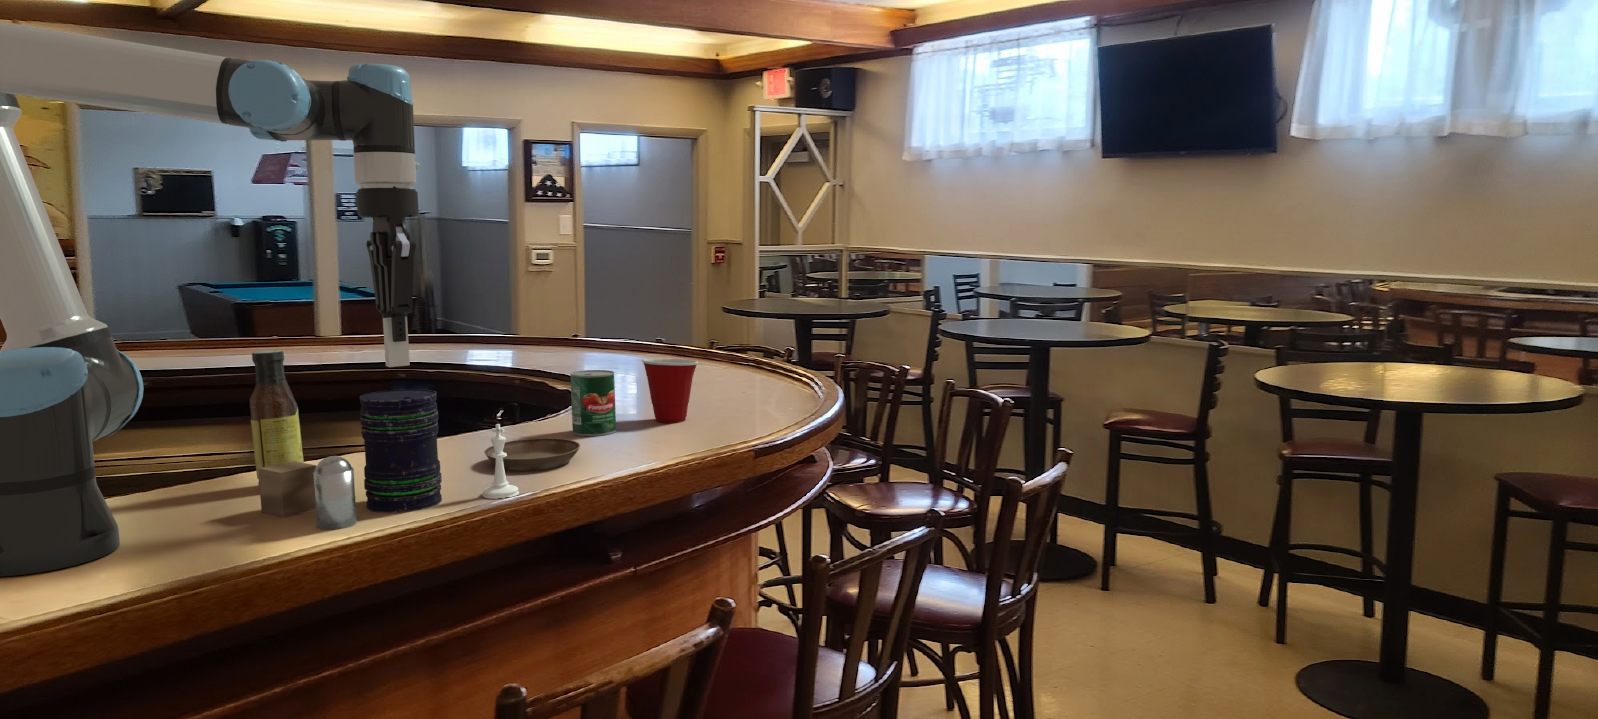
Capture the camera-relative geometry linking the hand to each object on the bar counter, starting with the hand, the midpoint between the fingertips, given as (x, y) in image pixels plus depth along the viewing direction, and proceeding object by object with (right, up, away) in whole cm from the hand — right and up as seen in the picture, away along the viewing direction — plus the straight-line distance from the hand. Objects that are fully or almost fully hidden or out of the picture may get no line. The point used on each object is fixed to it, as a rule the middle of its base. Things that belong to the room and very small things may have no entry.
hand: (397, 365), depth 139 cm
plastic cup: (+29, -11, +62) cm, 69 cm away
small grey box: (-14, -19, -1) cm, 24 cm away
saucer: (+11, -16, +26) cm, 33 cm away
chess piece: (+12, -18, +7) cm, 23 cm away
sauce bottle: (-22, -18, +12) cm, 31 cm away
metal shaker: (-5, -20, -8) cm, 22 cm away
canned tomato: (+16, -13, +51) cm, 55 cm away
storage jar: (0, -19, +2) cm, 19 cm away
